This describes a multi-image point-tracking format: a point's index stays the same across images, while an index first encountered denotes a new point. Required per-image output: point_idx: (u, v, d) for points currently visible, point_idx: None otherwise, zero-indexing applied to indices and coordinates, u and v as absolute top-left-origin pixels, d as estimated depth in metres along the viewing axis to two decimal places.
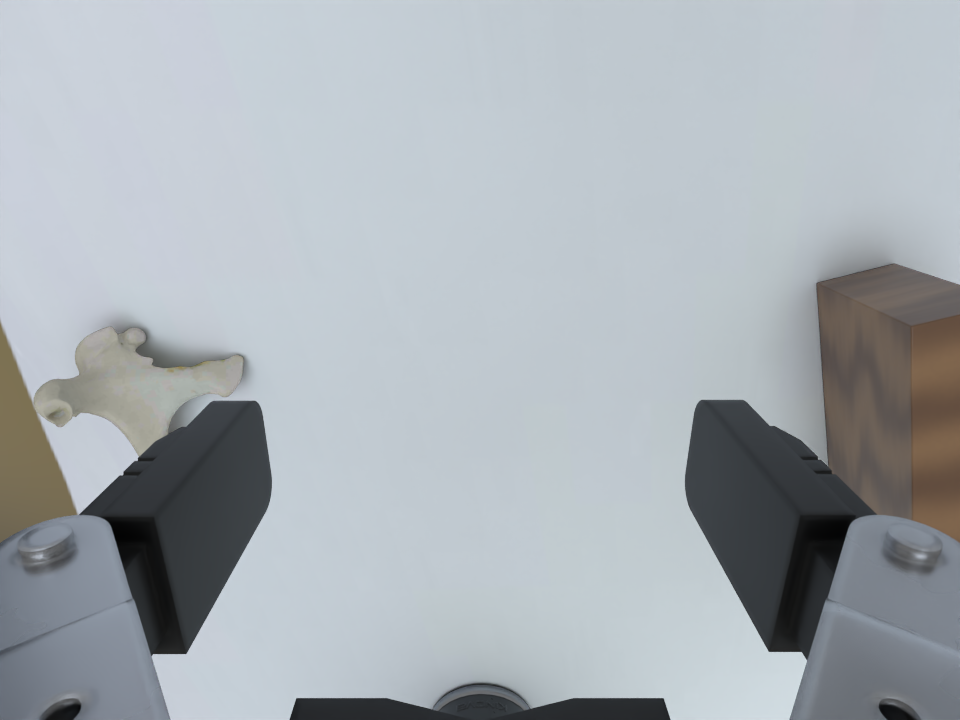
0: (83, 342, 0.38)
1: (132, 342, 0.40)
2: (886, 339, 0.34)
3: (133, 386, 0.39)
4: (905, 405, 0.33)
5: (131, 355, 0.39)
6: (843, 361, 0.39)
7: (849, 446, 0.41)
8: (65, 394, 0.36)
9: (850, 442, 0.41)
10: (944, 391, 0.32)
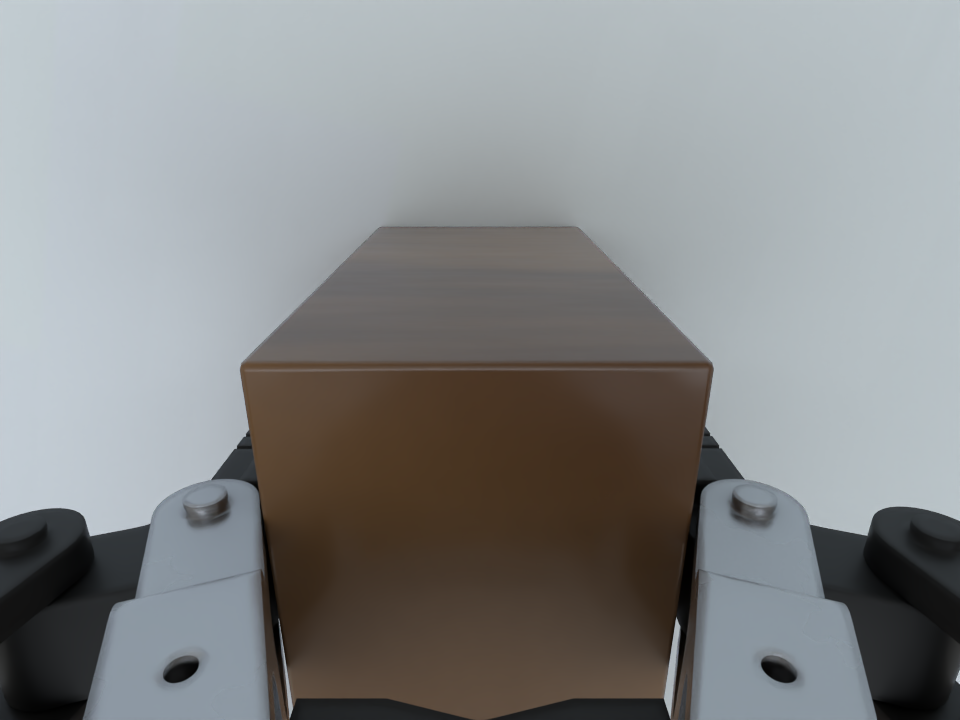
0: None
1: None
2: None
3: None
4: None
5: None
6: None
7: None
8: None
9: None
10: None
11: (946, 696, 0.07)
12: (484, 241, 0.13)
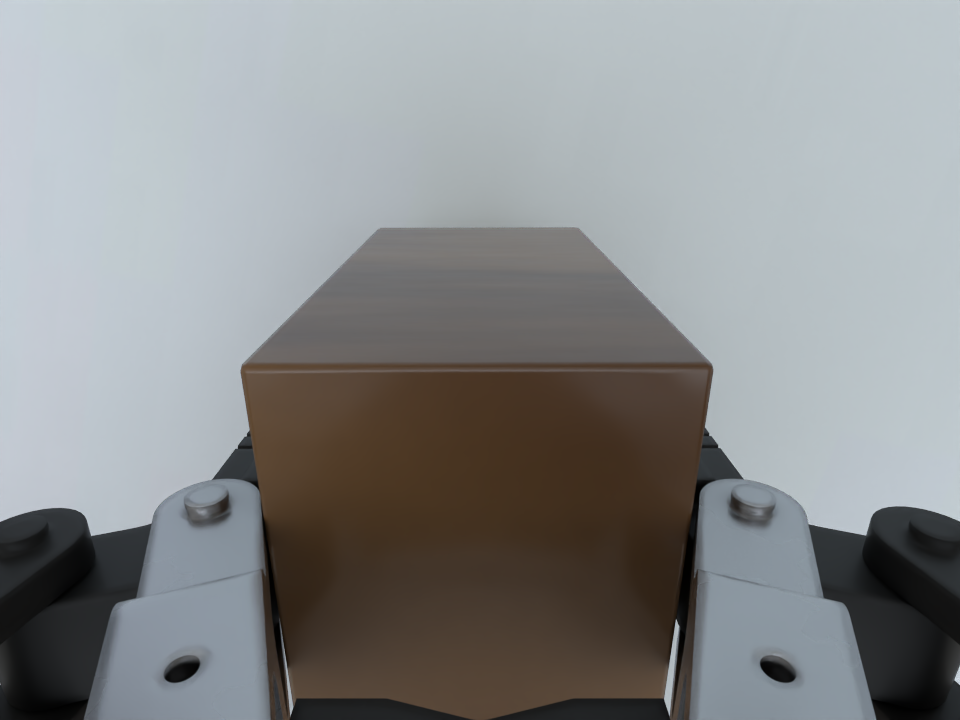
0: None
1: None
2: None
3: None
4: None
5: None
6: None
7: None
8: None
9: None
10: None
11: (945, 696, 0.07)
12: (484, 242, 0.13)
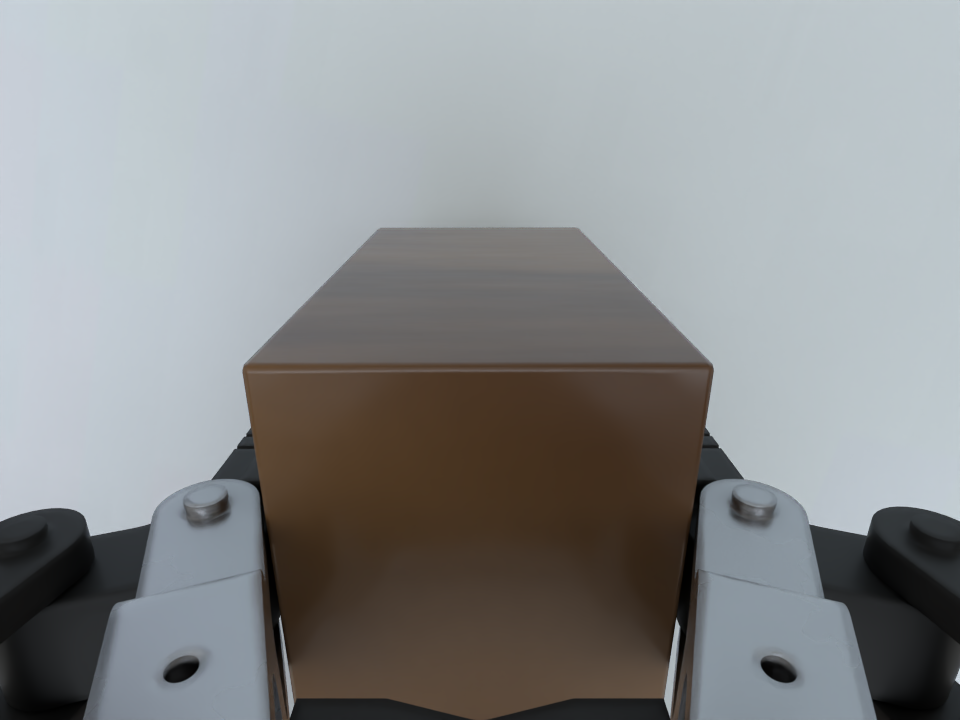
0: None
1: None
2: None
3: None
4: None
5: None
6: None
7: None
8: None
9: None
10: None
11: (946, 696, 0.07)
12: (484, 242, 0.13)
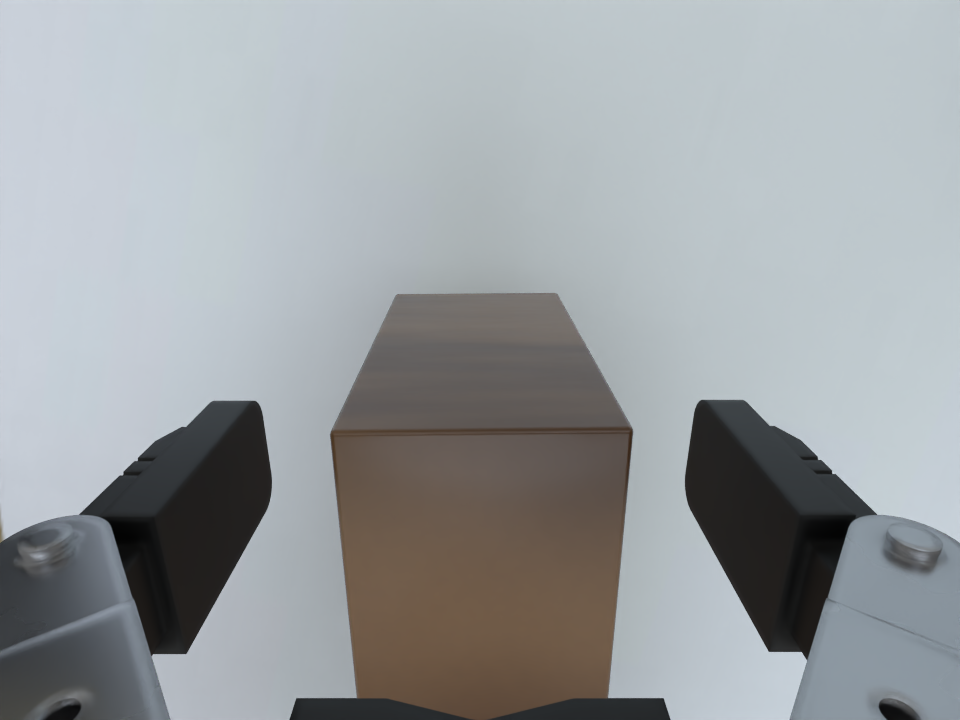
0: None
1: None
2: None
3: None
4: None
5: None
6: None
7: None
8: None
9: None
10: None
11: None
12: (482, 311, 0.17)
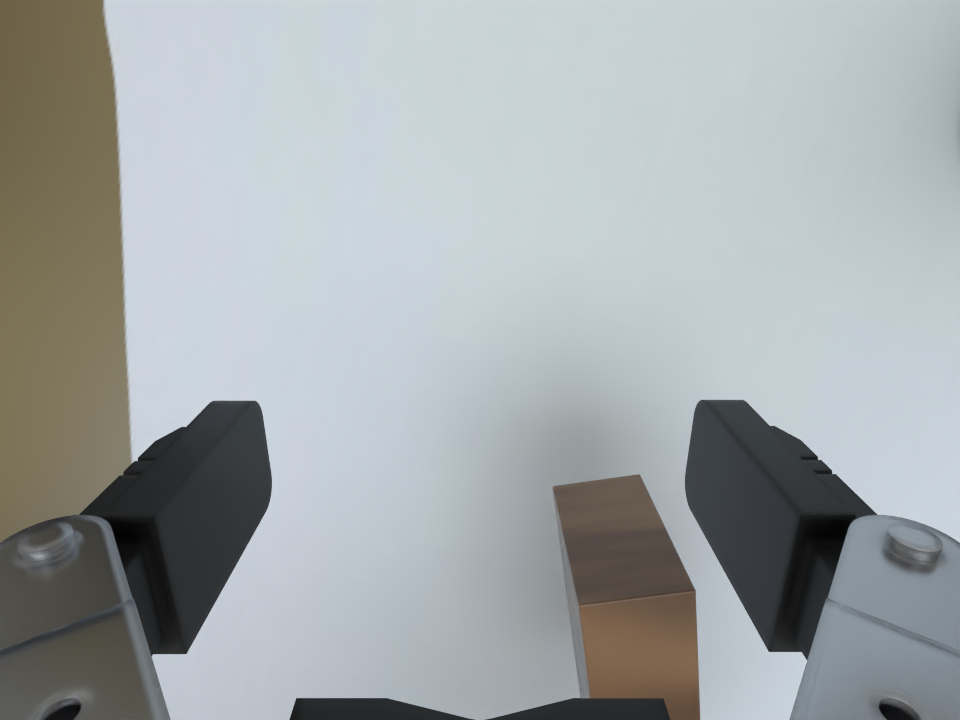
0: None
1: None
2: None
3: None
4: None
5: None
6: None
7: None
8: None
9: None
10: None
11: None
12: (605, 500, 0.33)
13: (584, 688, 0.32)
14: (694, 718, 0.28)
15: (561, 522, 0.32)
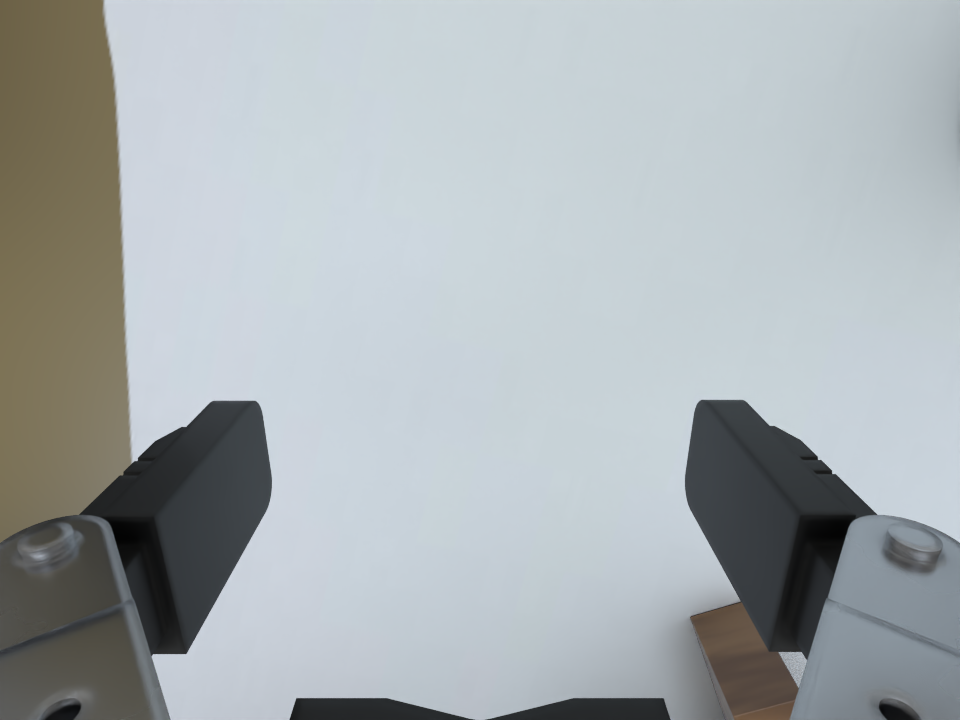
0: None
1: None
2: None
3: None
4: None
5: None
6: None
7: None
8: None
9: None
10: None
11: None
12: (730, 627, 0.49)
13: None
14: None
15: (704, 649, 0.48)
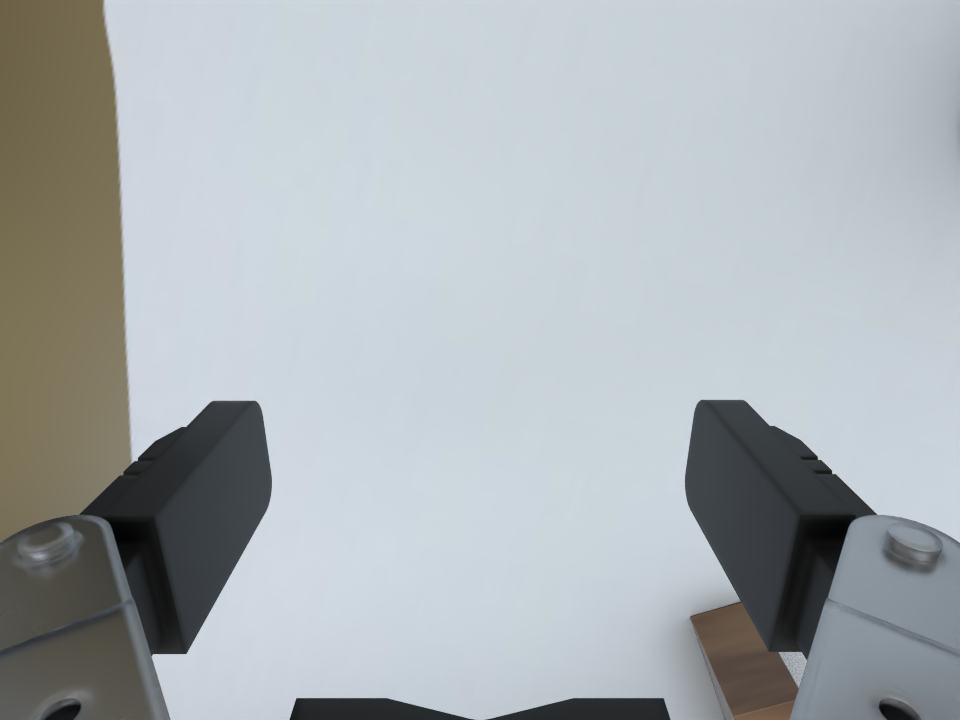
0: None
1: None
2: None
3: None
4: None
5: None
6: None
7: None
8: None
9: None
10: None
11: None
12: (730, 627, 0.49)
13: None
14: None
15: (704, 649, 0.48)
